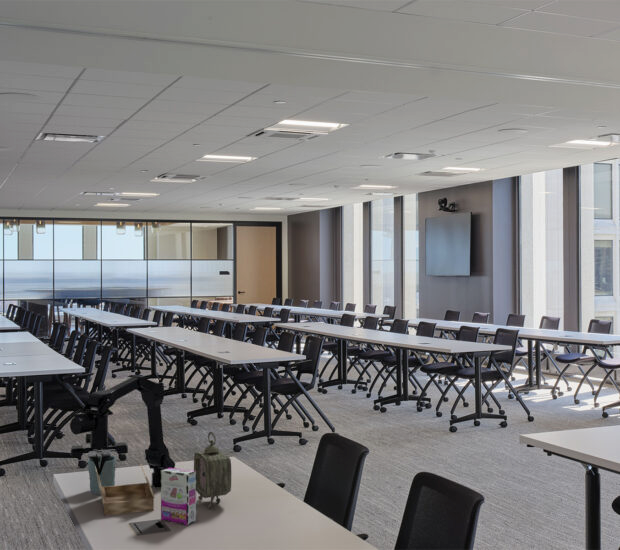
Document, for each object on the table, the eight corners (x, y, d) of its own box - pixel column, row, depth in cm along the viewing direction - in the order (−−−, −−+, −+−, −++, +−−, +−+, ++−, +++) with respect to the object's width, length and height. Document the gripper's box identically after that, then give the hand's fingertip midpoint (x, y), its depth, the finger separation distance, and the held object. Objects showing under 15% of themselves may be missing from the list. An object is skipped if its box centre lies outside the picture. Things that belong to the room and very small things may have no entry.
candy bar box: (197, 521, 240) (197, 470, 240) (187, 526, 235) (187, 474, 235) (169, 515, 245) (169, 466, 245) (160, 520, 241) (160, 470, 241)
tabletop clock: (193, 499, 262) (193, 429, 262) (217, 496, 266) (217, 427, 266) (207, 511, 249) (207, 437, 249) (232, 507, 254) (232, 434, 253)
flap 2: (145, 477, 250) (146, 476, 250) (139, 463, 268) (140, 462, 268) (153, 498, 251) (154, 497, 251) (147, 483, 269) (148, 482, 269)
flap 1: (96, 465, 263) (95, 466, 263) (99, 480, 245) (97, 480, 245) (101, 487, 264) (100, 487, 264) (104, 503, 246) (103, 503, 246)
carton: (147, 493, 269) (147, 482, 269) (153, 510, 250) (153, 498, 250) (101, 498, 264) (101, 486, 264) (104, 515, 245) (104, 503, 245)
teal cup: (111, 495, 268) (111, 462, 268) (83, 494, 268) (83, 461, 268) (119, 486, 278) (119, 455, 278) (92, 486, 278) (92, 455, 278)
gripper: (125, 423, 265) (125, 466, 265) (70, 426, 259) (70, 471, 259) (127, 429, 254) (127, 474, 254) (71, 432, 248) (70, 479, 248)
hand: (99, 474), depth 254 cm, fingers closed
